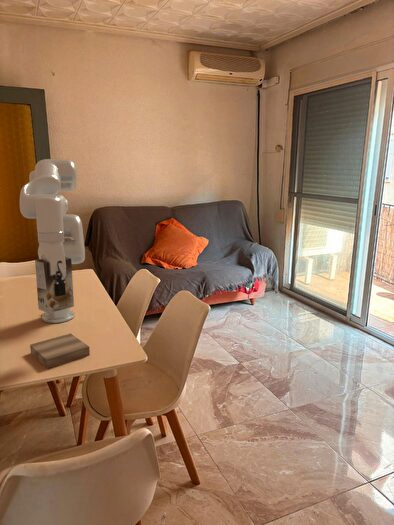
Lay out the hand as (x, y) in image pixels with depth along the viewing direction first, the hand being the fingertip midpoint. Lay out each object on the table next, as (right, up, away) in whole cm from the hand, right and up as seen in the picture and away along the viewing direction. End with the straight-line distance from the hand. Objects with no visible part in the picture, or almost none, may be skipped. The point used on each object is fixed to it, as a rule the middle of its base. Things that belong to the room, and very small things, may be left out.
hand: (55, 292), depth 125 cm
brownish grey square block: (0, -21, +5) cm, 21 cm away
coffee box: (0, -5, +1) cm, 5 cm away
